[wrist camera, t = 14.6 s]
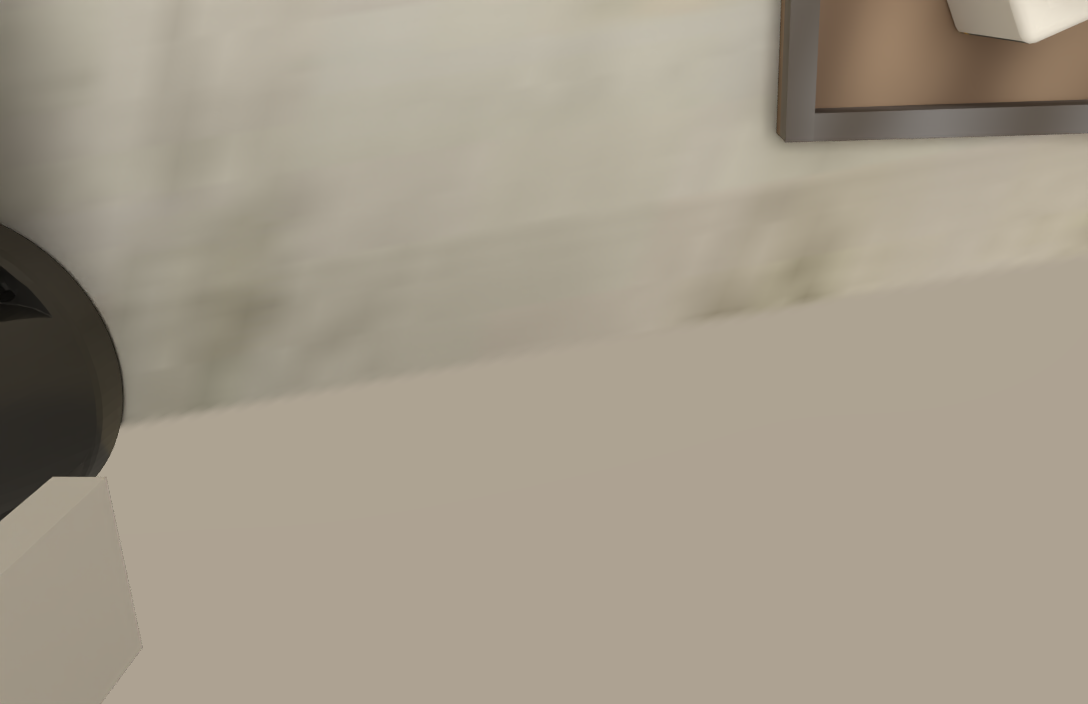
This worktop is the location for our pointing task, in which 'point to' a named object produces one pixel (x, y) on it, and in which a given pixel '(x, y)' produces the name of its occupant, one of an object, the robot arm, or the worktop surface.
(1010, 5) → the medicine bottle
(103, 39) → the worktop surface
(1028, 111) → the wooden tray
